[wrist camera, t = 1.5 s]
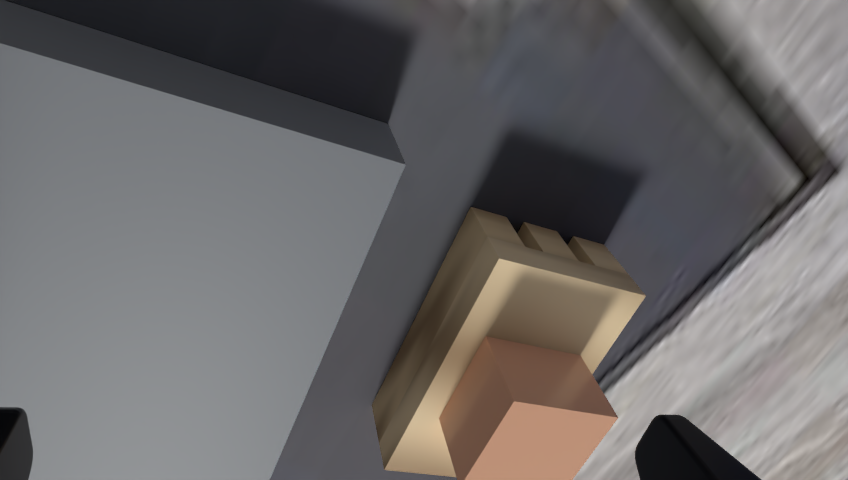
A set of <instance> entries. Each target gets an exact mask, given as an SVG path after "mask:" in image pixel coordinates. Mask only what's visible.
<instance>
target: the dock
mask: <svg viewBox="0 0 848 480" xmlns="http://www.w3.org/2000/svg"><path fill="white" fill-rule="evenodd" d="M405 165H406V164H405V162H404V159H403V157H402V155H401V153H400V150H399V148H398V146H397V143H396V141H395V139H394V136H393V134H392V132H391V129H390V127H389V125H388V124H387V123H384V122H381V121H377V120H374V119H371V118H368V117H365V116H362V115H359V114H356V113H353V112H350V111H346V110H343V109H340V108H337V107H334V106H331V105H328V104H325V103H322V102H319V101H315V100H312V99H309V98H306V97H303V96H300V95H297V94H294V93H291V92H288V91H284V90H281V89H278V88H275V87H272V86H269V85H266V84H263V83H260V82H257V81H253V80H250V79H247V78H244V77H241V76H238V75H235V74H232V73H229V72H226V71H222V70H219V69H216V68H213V67H210V66H207V65H204V64H201V63H198V62H195V61H191V60H188V59H185V58H182V57H179V56H176V55H173V54H170V53H167V52H164V51H160V50H157V49H154V48H151V47H148V46H145V45H142V44H139V43H136V42H133V41H129V40H126V39H123V38H120V37H117V36H114V35H111V34H108V33H105V32H101V31H98V30H95V29H92V28H89V27H86V26H83V25H80V24H77V23H74V22H70V21H67V20H64V19H61V18H58V17H55V16H52V15H49V14H46V13H43V12H39V11H36V10H33V9H30V8H27V7H24V6H21V5H18V4H15V3H12V2H8V1H5V0H0V407H19V408H22V409H24V410H25V412H26V414H27V418H28V423H29V429H30V434H31V440H32V445H33V462H32V467H31V471H30V475H29V479H28V480H270V478H271V475H272V473H273V471H274V468H275V466H276V464H277V461H278V459H279V457H280V454H281V452H282V450H283V447H284V445H285V443H286V441H287V438H288V436H289V434H290V431H291V429H292V427H293V424H294V422H295V420H296V417H297V415H298V413H299V410H300V408H301V406H302V404H303V401H304V399H305V397H306V394H307V392H308V390H309V387H310V385H311V383H312V380H313V378H314V376H315V373H316V371H317V369H318V367H319V364H320V362H321V360H322V357H323V355H324V353H325V350H326V348H327V346H328V343H329V341H330V339H331V336H332V334H333V332H334V330H335V327H336V325H337V323H338V320H339V318H340V316H341V313H342V311H343V309H344V306H345V304H346V302H347V299H348V297H349V295H350V293H351V290H352V288H353V286H354V283H355V281H356V279H357V276H358V274H359V272H360V269H361V267H362V265H363V262H364V260H365V258H366V255H367V253H368V251H369V249H370V246H371V244H372V242H373V239H374V237H375V235H376V232H377V230H378V228H379V225H380V223H381V221H382V218H383V216H384V214H385V212H386V209H387V207H388V205H389V202H390V200H391V198H392V195H393V193H394V191H395V188H396V186H397V184H398V181H399V179H400V177H401V175H402V172H403V170H404V168H405Z"/></svg>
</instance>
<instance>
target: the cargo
mask: <svg viewBox="0 0 848 480" xmlns="http://www.w3.org/2000/svg"><path fill="white" fill-rule="evenodd" d="M617 419H618V417H617V415H616V413H615V412H614V410H613V408H612V407H611V405H610V403H609V402H608V400H607V398H606V397H605V395H604V393H603V392H602V390H601V389H600V387H599V385H598V384H597V382H596V380H595V379H594V377H593V375H592V374H591V372H590V370H589V369H588V367H587V365H586V364H585V362H584V360H583V359H582V357H581V355H577V354H572V353H567V352H562V351H557V350H552V349H547V348H542V347H537V346H532V345H527V344H522V343H517V342H512V341H507V340H502V339H497V338H492V337H487V336H485V338H484V340H483V342H482V343H481V345H480V347H479V349H478V350H477V352H476V354H475V356H474V357H473V359H472V361H471V363H470V364H469V366H468V368H467V370H466V371H465V373H464V375H463V377H462V378H461V380H460V382H459V384H458V386H457V387H456V389H455V391H454V393H453V394H452V396H451V398H450V400H449V401H448V403H447V405H446V407H445V408H444V410H443V412H442V414H441V415H440V417H439V421H440V424H441V427H442V431H443V434H444V437H445V441H446V444H447V447H448V451H449V454H450V457H451V461H452V464H453V467H454V471H455V474H456V477H457V480H572V479H573V478H574V477H575V475H576V474H577V473H578V471H579V470H580V469H581V467H582V466H583V465H584V463H585V462H586V460H587V459H588V458H589V456H590V455H591V454H592V452H593V451H594V450H595V448H596V447H597V446H598V444H599V443H600V442H601V440H602V439H603V438H604V436H605V435H606V433H607V432H608V431H609V429H610V428H611V427H612V425H613V424H614V423H615V421H616V420H617Z"/></svg>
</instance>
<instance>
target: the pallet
mask: <svg viewBox="0 0 848 480" xmlns="http://www.w3.org/2000/svg"><path fill="white" fill-rule="evenodd" d="M645 296H646V295H645V294H644V293H643V292H642V290H641V289H640V288H639V287H638V285H637V284H636V283H635V282H634V281H633V279H632V278H631V277H630V276H629V275H628V273H627V272H626V271H625V270H624V268H623V267H622V266H621V265H620V264H619V262H618V261H617V260H616V259H615V257H614V256H613V255H612V254H611V253H610V251H609V250H608V249H607V248H606V247H605V245H603V244H600V243H596V242H592V241H589V240H585V239H582V238H578V237H575V236H573V237H572V239H571V240H570V242H569V244H568V245H567V244H566V243H565V242H564V240H563V239H562V238H561V236H560V235H559V233H558V232H557V231H554V230H550V229H547V228H543V227H540V226H536V225H533V224H529V223H526V222H523V224H522V226H521V228H520V230H519V231H518V233H516V231H515V230H514V228H513V227H512V225H511V223H510V222H509V220H508V219H507V217H505V216H501V215H498V214H494V213H491V212H487V211H484V210H480V209H477V208H473V207H470V209H469V211H468V213H467V215H466V217H465V219H464V221H463V223H462V225H461V227H460V229H459V231H458V233H457V235H456V237H455V239H454V241H453V243H452V245H451V247H450V249H449V251H448V253H447V255H446V257H445V259H444V261H443V263H442V265H441V267H440V269H439V272H438V274H437V276H436V278H435V280H434V282H433V284H432V286H431V288H430V290H429V292H428V294H427V296H426V298H425V300H424V302H423V304H422V306H421V308H420V310H419V312H418V314H417V316H416V318H415V320H414V322H413V324H412V326H411V328H410V330H409V332H408V334H407V336H406V338H405V340H404V342H403V344H402V346H401V348H400V350H399V352H398V354H397V356H396V358H395V360H394V362H393V364H392V366H391V368H390V370H389V372H388V374H387V376H386V378H385V380H384V382H383V384H382V386H381V388H380V390H379V392H378V394H377V396H376V398H375V400H374V402H373V404H372V408H373V414H374V419H375V424H376V429H377V434H378V439H379V445H380V450H381V455H382V460H383V465H384V470H391V471H401V472H411V473H421V474H431V475H441V476H450V477H456V474H455V471H454V467H453V464H452V461H451V457H450V454H449V451H448V447H447V444H446V441H445V437H444V434H443V431H442V427H441V424H440V421H439V417H440V415H441V414H442V412H443V410H444V408H445V407H446V405H447V403H448V401H449V400H450V398H451V396H452V394H453V393H454V391H455V389H456V387H457V386H458V384H459V382H460V380H461V378H462V377H463V375H464V373H465V371H466V370H467V368H468V366H469V364H470V363H471V361H472V359H473V357H474V356H475V354H476V352H477V350H478V349H479V347H480V345H481V343H482V342H483V340H484V338H485V336H487V337H492V338H497V339H502V340H507V341H512V342H517V343H522V344H527V345H532V346H537V347H542V348H547V349H552V350H557V351H562V352H567V353H572V354H577V355H581V357H582V359H583V360H584V362H585V364H586V365H587V367H588V369H589V370H590V372H591V374H593V372H594V371H595V369H596V368H597V366H598V365H599V364H600V362H601V361H602V359H603V358H604V356H605V355H606V353H607V352H608V350H609V349H610V347H611V346H612V345H613V343H614V342H615V340H616V339H617V337H618V336H619V334H620V333H621V331H622V330H623V329H624V327H625V326H626V324H627V323H628V321H629V320H630V318H631V317H632V315H633V314H634V313H635V311H636V310H637V308H638V307H639V305H640V304H641V302H642V301H643V299H644V298H645Z"/></svg>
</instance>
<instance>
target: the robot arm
mask: <svg viewBox="0 0 848 480" xmlns="http://www.w3.org/2000/svg"><path fill="white" fill-rule="evenodd" d="M635 460H636V465H637V469H638V473H639V476H640V480H761V479H760V478H759V477H757V476H756V475H755V474H754V473H752V472H751V471H750V470H749V469H748V468H746V467H745V466H744V465H743V464H741V463H740V462H739V461H738V460H737V459H735V458H734V457H733V456H732V455H730V454H729V453H728V452H727V451H725V450H724V449H723V448H722V447H721V446H719V445H718V444H717V443H716V442H714V441H713V440H712V439H711V438H710V437H708V436H707V435H706V434H705V433H703V432H702V431H701V430H700V429H698V428H697V427H696V426H695V425H694V424H692V423H691V422H690V421H689V420H687V419H686V418H685V417H683V416H680V415H658V416H656V417H655V418H654V419H653V420H652V421H651V423H650V425H649V426H648V428H647V430H646V431H645V433H644V435H643V436H642V438H641V440H640V441H639V443H638V445H637V447H636V451H635ZM32 462H33V445H32V440H31V434H30V429H29V423H28V418H27V414H26V412H25V410H24V409H22V408H19V407H0V480H28V479H29V475H30V471H31V467H32Z"/></svg>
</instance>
